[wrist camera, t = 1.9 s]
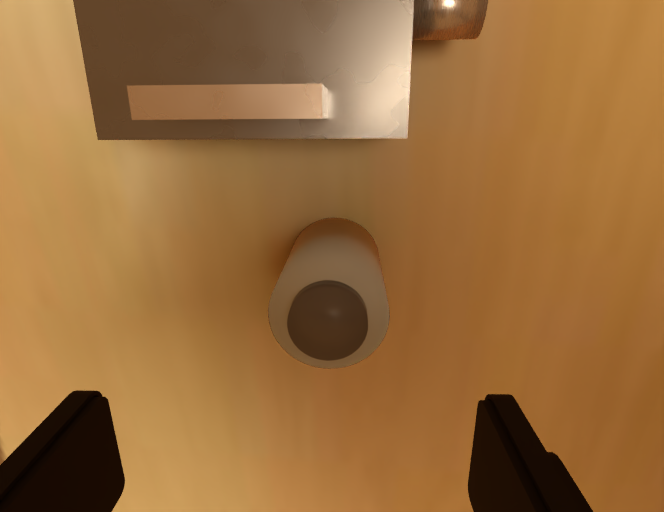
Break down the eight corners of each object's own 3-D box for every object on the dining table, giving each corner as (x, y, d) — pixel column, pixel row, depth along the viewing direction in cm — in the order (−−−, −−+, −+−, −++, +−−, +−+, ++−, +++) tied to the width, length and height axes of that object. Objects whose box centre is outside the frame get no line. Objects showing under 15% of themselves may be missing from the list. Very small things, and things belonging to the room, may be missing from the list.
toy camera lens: (380, 217, 23) (393, 266, 16) (377, 301, 25) (389, 380, 17) (289, 217, 23) (260, 265, 16) (292, 300, 25) (267, 378, 17)
